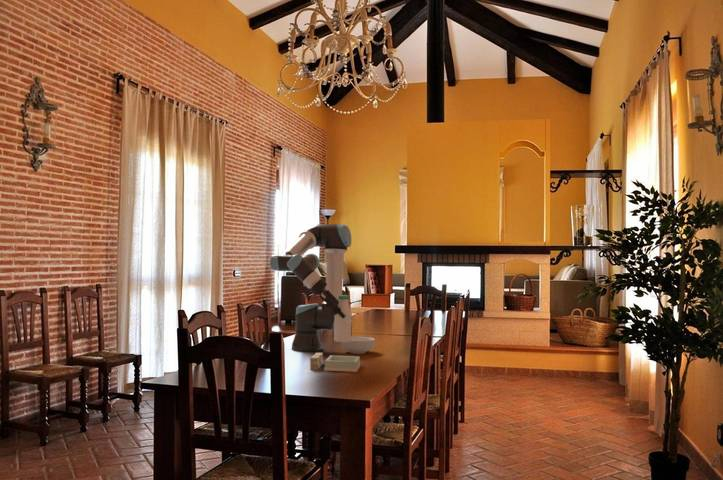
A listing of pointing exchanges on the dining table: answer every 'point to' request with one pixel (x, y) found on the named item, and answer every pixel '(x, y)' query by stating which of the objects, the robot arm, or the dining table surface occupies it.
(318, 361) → the board
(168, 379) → the dining table surface
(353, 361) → the cradle
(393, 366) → the dining table surface
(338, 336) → the milk bottle
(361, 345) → the cereal bowl
